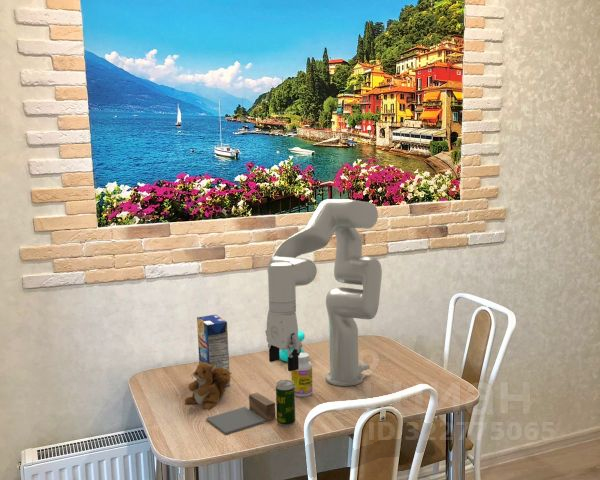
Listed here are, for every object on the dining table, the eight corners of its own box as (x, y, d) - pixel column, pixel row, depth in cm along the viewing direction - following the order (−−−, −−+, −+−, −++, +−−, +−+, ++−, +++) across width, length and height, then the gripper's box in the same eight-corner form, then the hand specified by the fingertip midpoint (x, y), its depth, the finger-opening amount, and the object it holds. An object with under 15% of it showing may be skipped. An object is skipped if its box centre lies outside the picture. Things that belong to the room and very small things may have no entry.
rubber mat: (245, 408, 194) (244, 406, 194) (265, 422, 185) (265, 420, 185) (206, 419, 187) (206, 418, 187) (225, 434, 177) (225, 432, 177)
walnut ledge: (258, 406, 196) (257, 392, 195) (275, 417, 188) (274, 402, 187) (249, 408, 194) (248, 394, 193) (266, 420, 186) (266, 405, 185)
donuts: (302, 336, 231) (275, 336, 233) (303, 363, 233) (276, 362, 234) (306, 328, 241) (280, 328, 242) (306, 354, 243) (280, 353, 244)
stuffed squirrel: (181, 404, 199) (179, 363, 197) (215, 390, 210) (213, 351, 208) (203, 412, 193) (201, 370, 191) (236, 397, 203) (235, 357, 201)
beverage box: (210, 390, 210) (207, 325, 207) (200, 379, 220) (196, 317, 216) (230, 386, 213) (227, 322, 210) (218, 375, 223) (216, 314, 219)
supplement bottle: (297, 399, 201) (296, 359, 199) (288, 392, 206) (287, 353, 204) (316, 394, 204) (315, 356, 202) (306, 388, 209) (305, 350, 207)
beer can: (285, 417, 188) (284, 378, 186) (299, 422, 184) (298, 382, 182) (273, 423, 184) (271, 383, 182) (287, 428, 180) (285, 388, 178)
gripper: (255, 302, 183) (256, 360, 186) (288, 314, 169) (289, 376, 172) (277, 298, 188) (278, 355, 190) (311, 310, 174) (312, 371, 176)
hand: (283, 365), depth 181 cm, fingers open, 9 cm apart
